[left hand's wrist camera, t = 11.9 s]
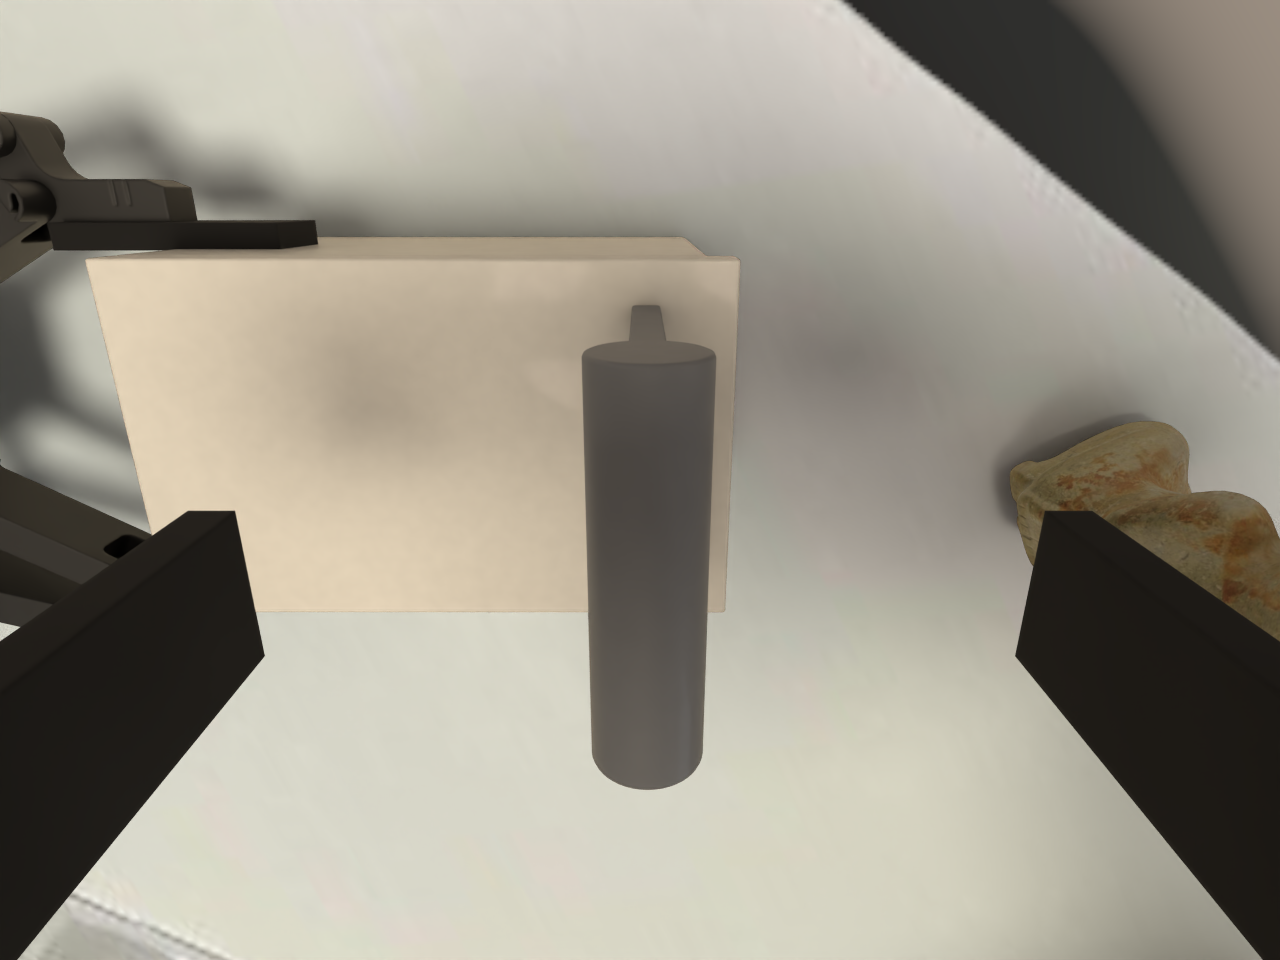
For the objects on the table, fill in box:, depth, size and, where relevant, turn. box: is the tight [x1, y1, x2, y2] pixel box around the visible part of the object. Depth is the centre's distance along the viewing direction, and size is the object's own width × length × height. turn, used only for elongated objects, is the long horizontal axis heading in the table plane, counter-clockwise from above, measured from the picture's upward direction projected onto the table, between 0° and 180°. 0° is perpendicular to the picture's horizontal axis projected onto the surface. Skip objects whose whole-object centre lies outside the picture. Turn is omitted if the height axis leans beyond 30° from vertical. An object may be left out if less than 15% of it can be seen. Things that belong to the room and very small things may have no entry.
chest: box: [117, 237, 706, 256], centre depth 26 cm, size 15×10×11 cm, turn 90°
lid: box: [85, 256, 740, 790], centre depth 17 cm, size 16×10×9 cm, turn 90°
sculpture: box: [1010, 421, 1280, 641], centre depth 25 cm, size 6×7×15 cm
